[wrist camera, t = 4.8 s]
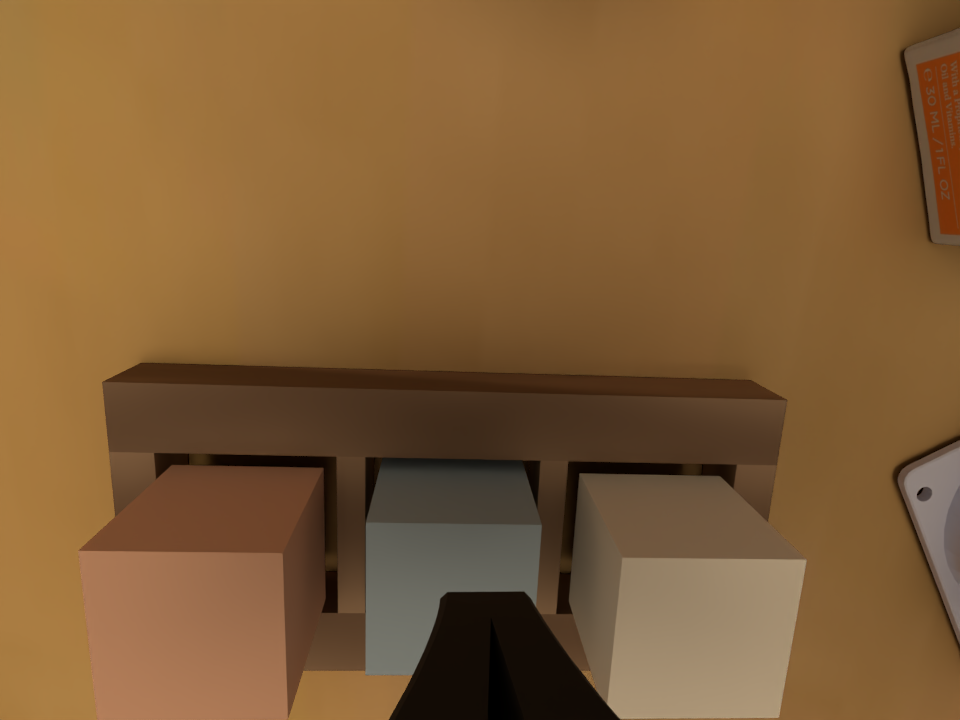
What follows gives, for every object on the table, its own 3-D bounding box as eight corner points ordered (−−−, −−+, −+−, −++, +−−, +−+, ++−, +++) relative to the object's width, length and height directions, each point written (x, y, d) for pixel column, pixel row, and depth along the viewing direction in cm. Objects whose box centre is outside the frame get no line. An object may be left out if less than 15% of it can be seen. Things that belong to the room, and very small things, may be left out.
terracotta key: (325, 599, 19) (287, 719, 14) (181, 597, 19) (97, 720, 14) (323, 467, 18) (282, 553, 13) (172, 464, 18) (78, 550, 13)
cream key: (702, 601, 19) (778, 718, 15) (568, 600, 19) (605, 718, 15) (719, 476, 19) (806, 559, 14) (579, 473, 18) (622, 557, 14)
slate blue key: (512, 574, 21) (531, 675, 16) (383, 573, 20) (365, 675, 16) (520, 453, 20) (541, 525, 15) (384, 450, 19) (365, 522, 15)
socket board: (715, 626, 22) (743, 670, 20) (162, 624, 21) (130, 670, 19) (751, 380, 20) (787, 400, 18) (141, 362, 19) (102, 382, 17)
